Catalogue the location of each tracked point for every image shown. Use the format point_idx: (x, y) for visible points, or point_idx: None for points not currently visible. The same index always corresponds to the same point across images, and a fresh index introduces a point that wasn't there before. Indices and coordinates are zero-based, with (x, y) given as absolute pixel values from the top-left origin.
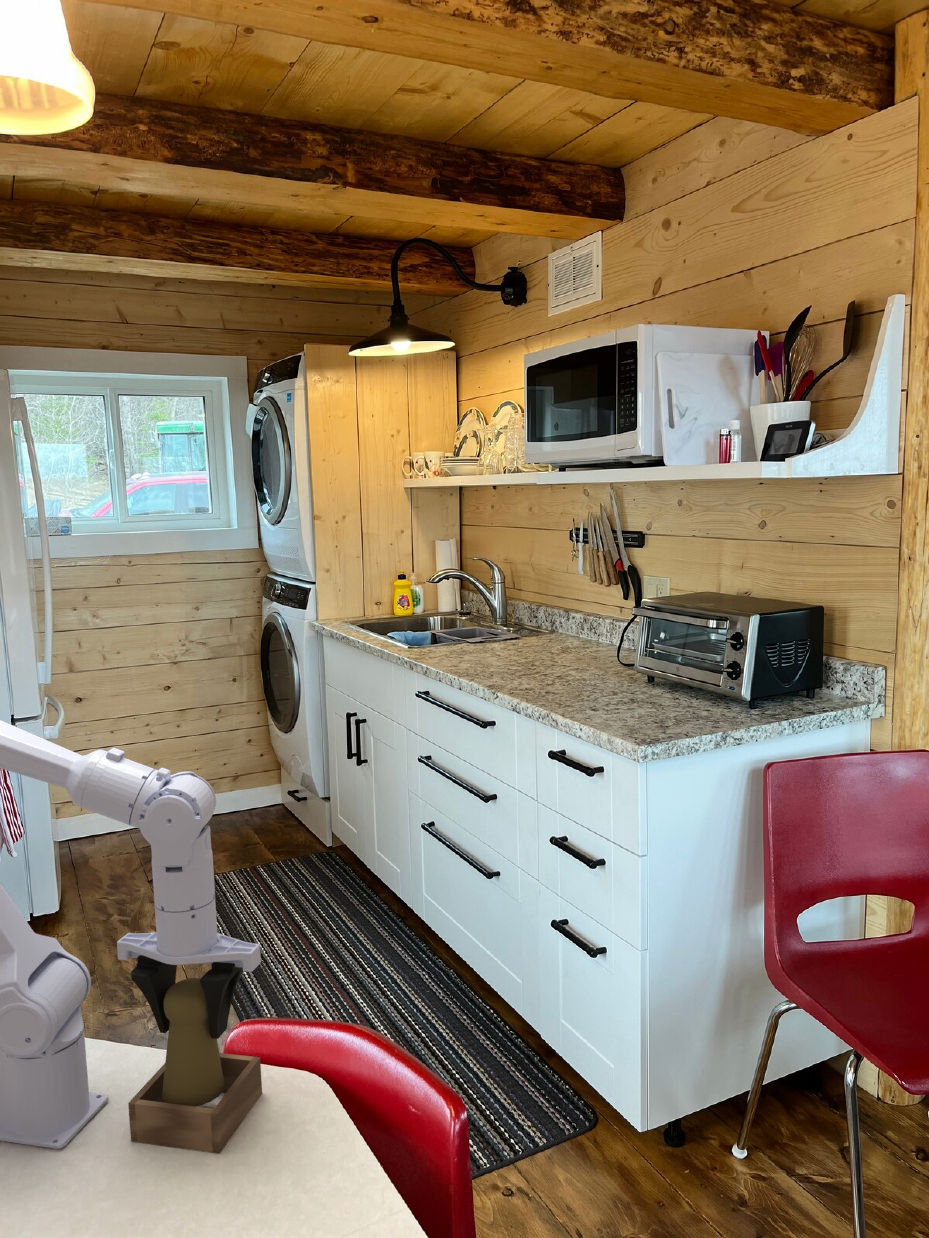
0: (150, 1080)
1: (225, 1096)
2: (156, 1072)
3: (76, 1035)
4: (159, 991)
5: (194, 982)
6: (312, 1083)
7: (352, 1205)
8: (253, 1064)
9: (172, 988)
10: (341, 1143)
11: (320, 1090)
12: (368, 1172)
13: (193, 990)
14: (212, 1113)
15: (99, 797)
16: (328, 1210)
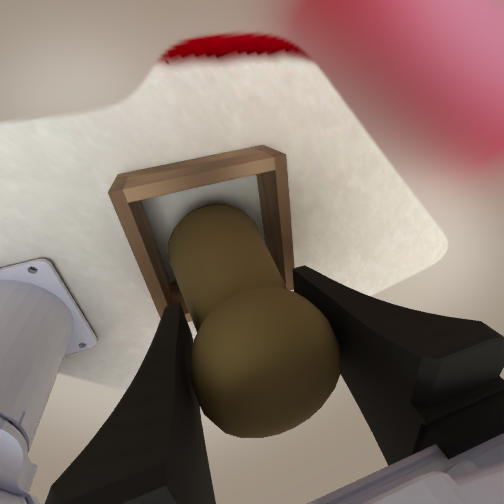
0: (149, 284)
1: (286, 259)
2: (139, 266)
3: (10, 436)
4: (201, 443)
5: (290, 392)
6: (323, 89)
7: (415, 254)
8: (284, 177)
9: (239, 431)
10: (392, 191)
11: (340, 103)
12: (423, 216)
13: (311, 409)
14: (288, 289)
15: None
16: (398, 267)
